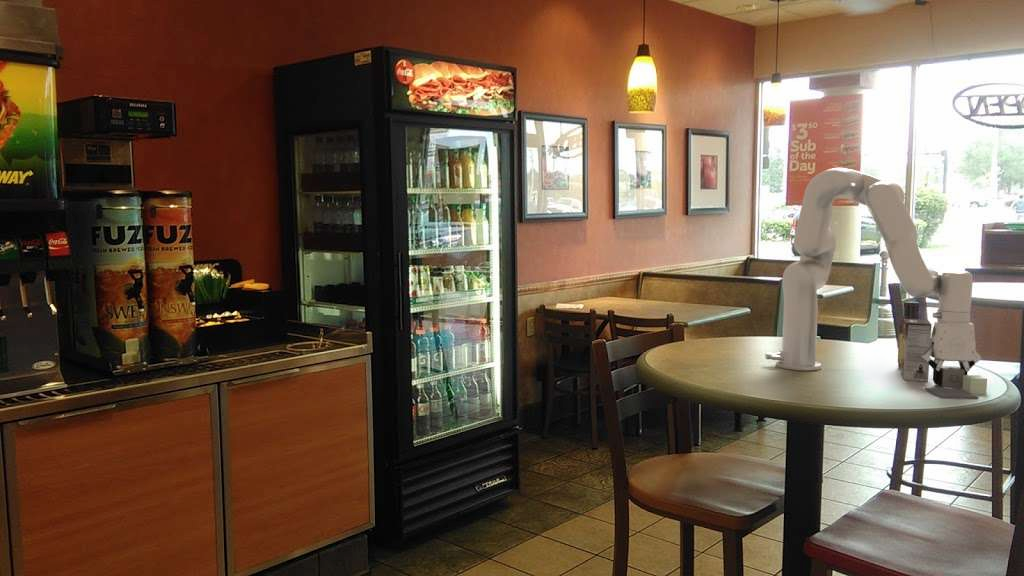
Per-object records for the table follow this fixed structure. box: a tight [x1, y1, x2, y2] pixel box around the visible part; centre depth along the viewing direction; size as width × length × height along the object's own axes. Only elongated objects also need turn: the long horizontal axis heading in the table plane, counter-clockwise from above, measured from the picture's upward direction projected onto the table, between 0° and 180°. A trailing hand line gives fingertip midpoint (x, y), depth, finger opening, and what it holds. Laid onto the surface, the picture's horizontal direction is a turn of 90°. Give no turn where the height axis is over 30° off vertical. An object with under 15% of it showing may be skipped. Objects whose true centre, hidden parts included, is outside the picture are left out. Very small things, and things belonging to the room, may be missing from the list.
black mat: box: [924, 387, 979, 400], centre depth 203 cm, size 9×9×1 cm
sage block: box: [962, 374, 988, 395], centre depth 206 cm, size 4×4×4 cm
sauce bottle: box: [897, 301, 920, 370], centre depth 235 cm, size 7×6×20 cm
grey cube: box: [940, 365, 965, 389], centre depth 212 cm, size 5×5×5 cm
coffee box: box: [900, 318, 933, 383], centre depth 222 cm, size 9×6×16 cm
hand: (949, 384), depth 213 cm, fingers closed on grey cube, 5 cm apart
